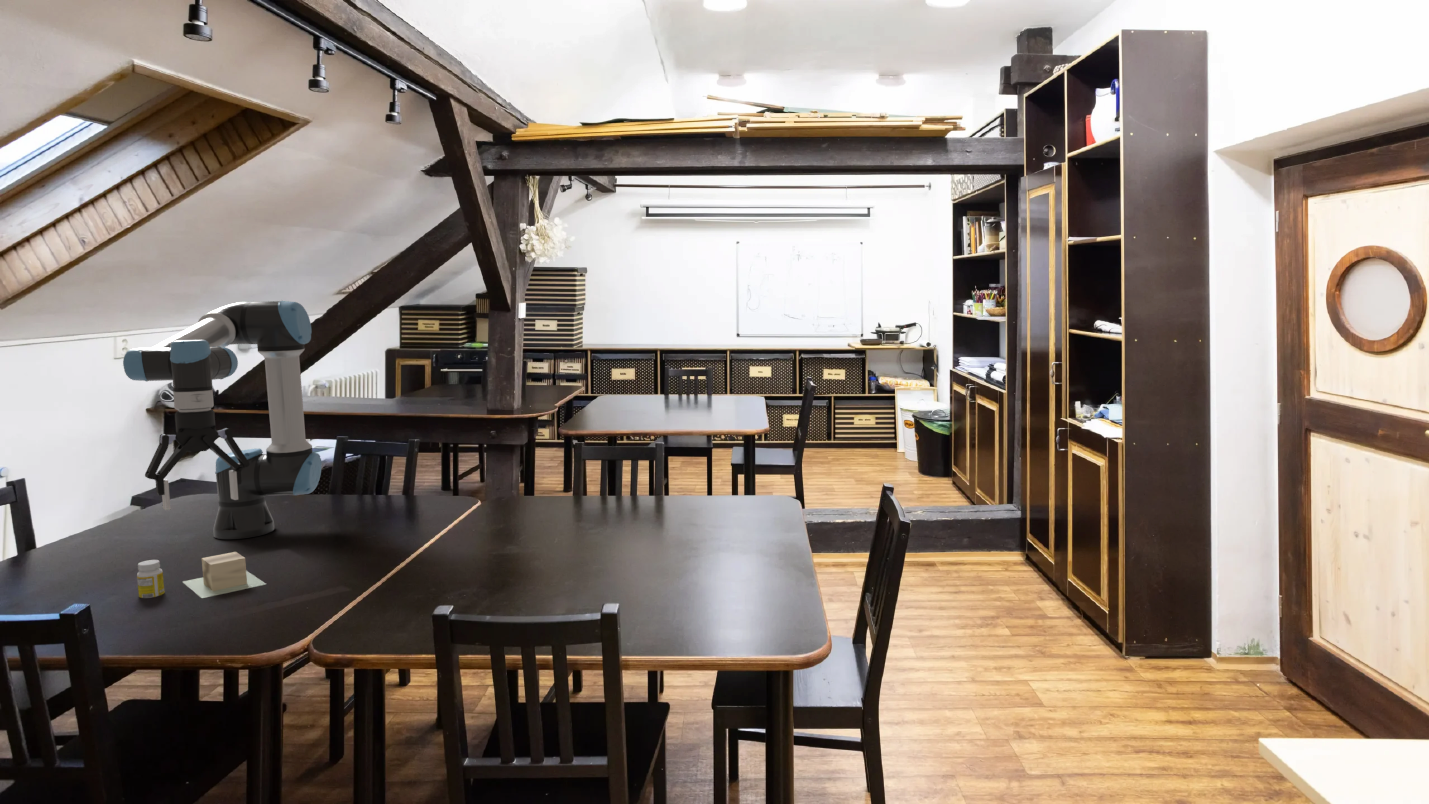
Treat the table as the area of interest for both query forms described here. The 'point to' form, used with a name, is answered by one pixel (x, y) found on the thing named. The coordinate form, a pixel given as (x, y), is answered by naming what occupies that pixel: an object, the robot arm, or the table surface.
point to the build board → (204, 591)
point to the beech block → (224, 571)
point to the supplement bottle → (150, 579)
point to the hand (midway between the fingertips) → (201, 504)
